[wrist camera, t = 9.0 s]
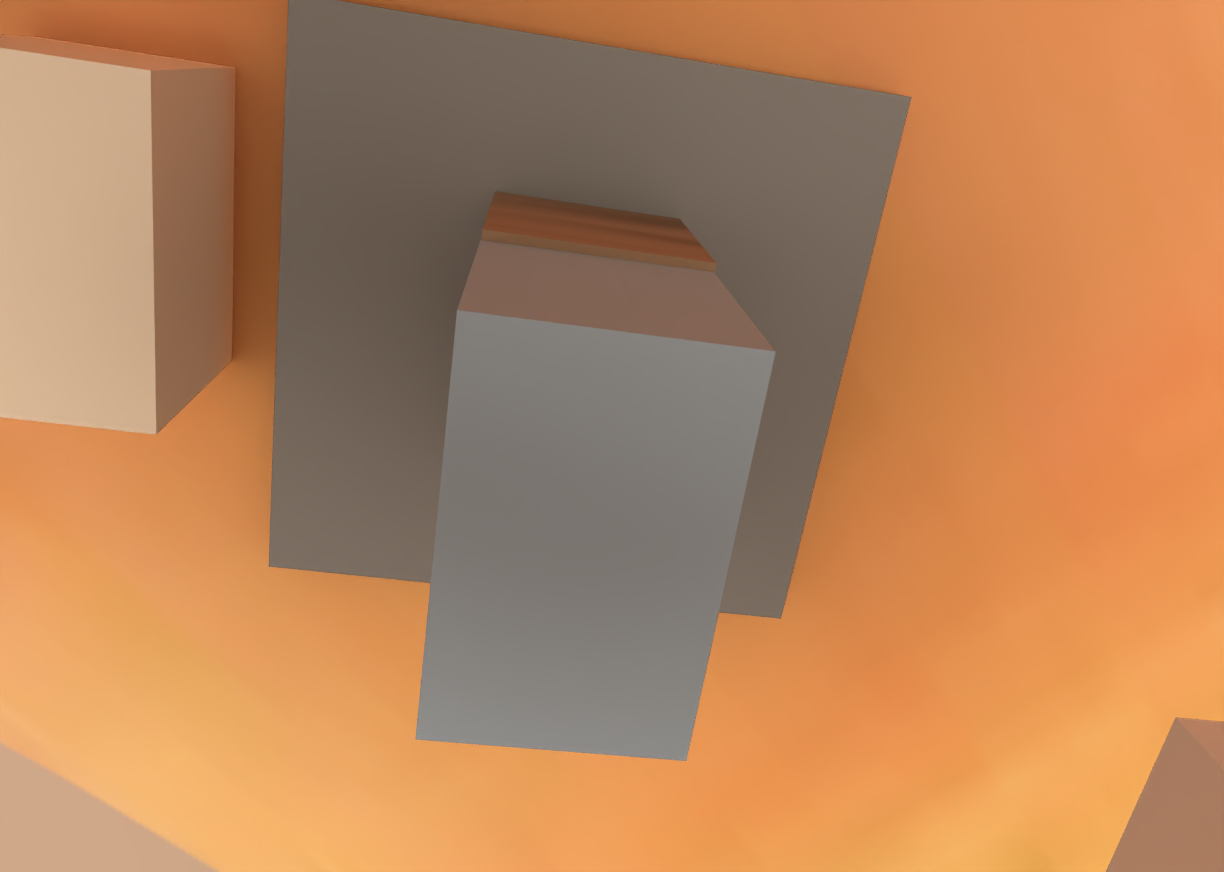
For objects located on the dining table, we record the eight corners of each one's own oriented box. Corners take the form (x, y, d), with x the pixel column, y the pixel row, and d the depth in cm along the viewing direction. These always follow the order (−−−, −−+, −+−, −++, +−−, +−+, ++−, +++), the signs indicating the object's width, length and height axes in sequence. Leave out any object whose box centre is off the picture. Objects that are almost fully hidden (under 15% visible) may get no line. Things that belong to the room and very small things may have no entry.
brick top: (480, 239, 20) (457, 310, 15) (713, 272, 21) (775, 351, 15) (446, 574, 23) (416, 739, 18) (652, 594, 24) (686, 760, 18)
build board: (298, -6, 25) (288, -8, 24) (898, 95, 27) (911, 97, 26) (277, 550, 30) (268, 566, 29) (773, 602, 32) (780, 618, 31)
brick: (34, 35, 25) (-113, 30, 19) (236, 67, 25) (150, 70, 20) (51, 337, 28) (-74, 409, 22) (233, 359, 28) (156, 434, 23)
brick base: (495, 191, 26) (482, 229, 20) (679, 218, 26) (716, 263, 21) (464, 466, 29) (446, 566, 23) (632, 486, 29) (653, 587, 24)
